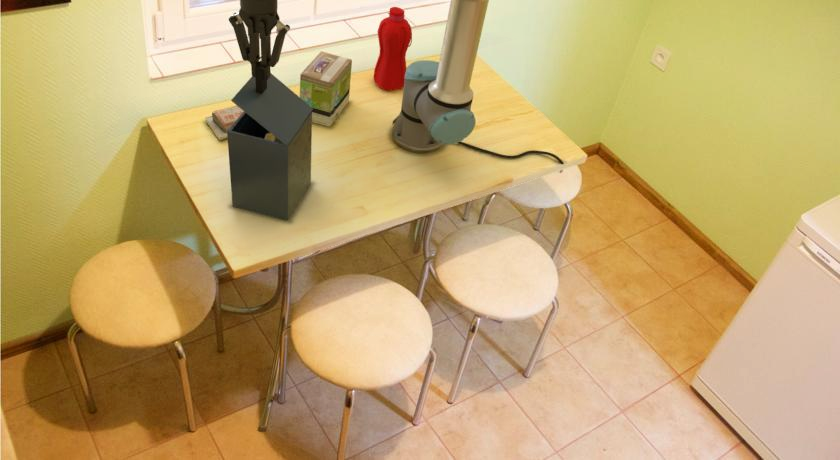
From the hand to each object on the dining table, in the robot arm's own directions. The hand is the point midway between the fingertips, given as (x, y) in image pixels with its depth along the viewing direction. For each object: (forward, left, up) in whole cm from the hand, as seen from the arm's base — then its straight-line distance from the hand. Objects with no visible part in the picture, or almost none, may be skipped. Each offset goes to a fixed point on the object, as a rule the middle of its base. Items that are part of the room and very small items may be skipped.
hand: (261, 90), depth 162 cm
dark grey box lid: (-3, 0, -3) cm, 4 cm away
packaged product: (+17, -25, -30) cm, 43 cm away
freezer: (-2, 0, -30) cm, 30 cm away
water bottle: (-15, -64, -30) cm, 72 cm away
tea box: (-1, -41, -30) cm, 51 cm away
